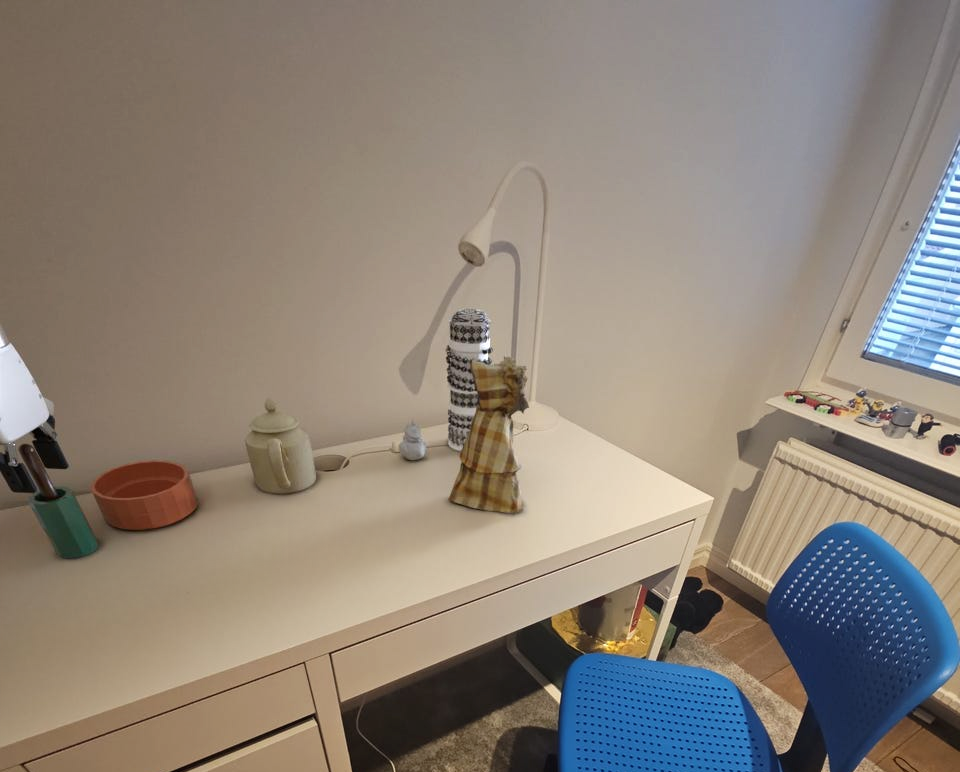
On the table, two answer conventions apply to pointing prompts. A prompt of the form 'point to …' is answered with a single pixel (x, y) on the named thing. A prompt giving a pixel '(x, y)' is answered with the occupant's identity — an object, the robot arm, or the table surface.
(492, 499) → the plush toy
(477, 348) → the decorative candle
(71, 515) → the stick holder
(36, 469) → the stirring stick
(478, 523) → the table surface
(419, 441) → the grey figurine
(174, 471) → the mixing bowl
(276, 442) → the sugar bowl
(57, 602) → the table surface
